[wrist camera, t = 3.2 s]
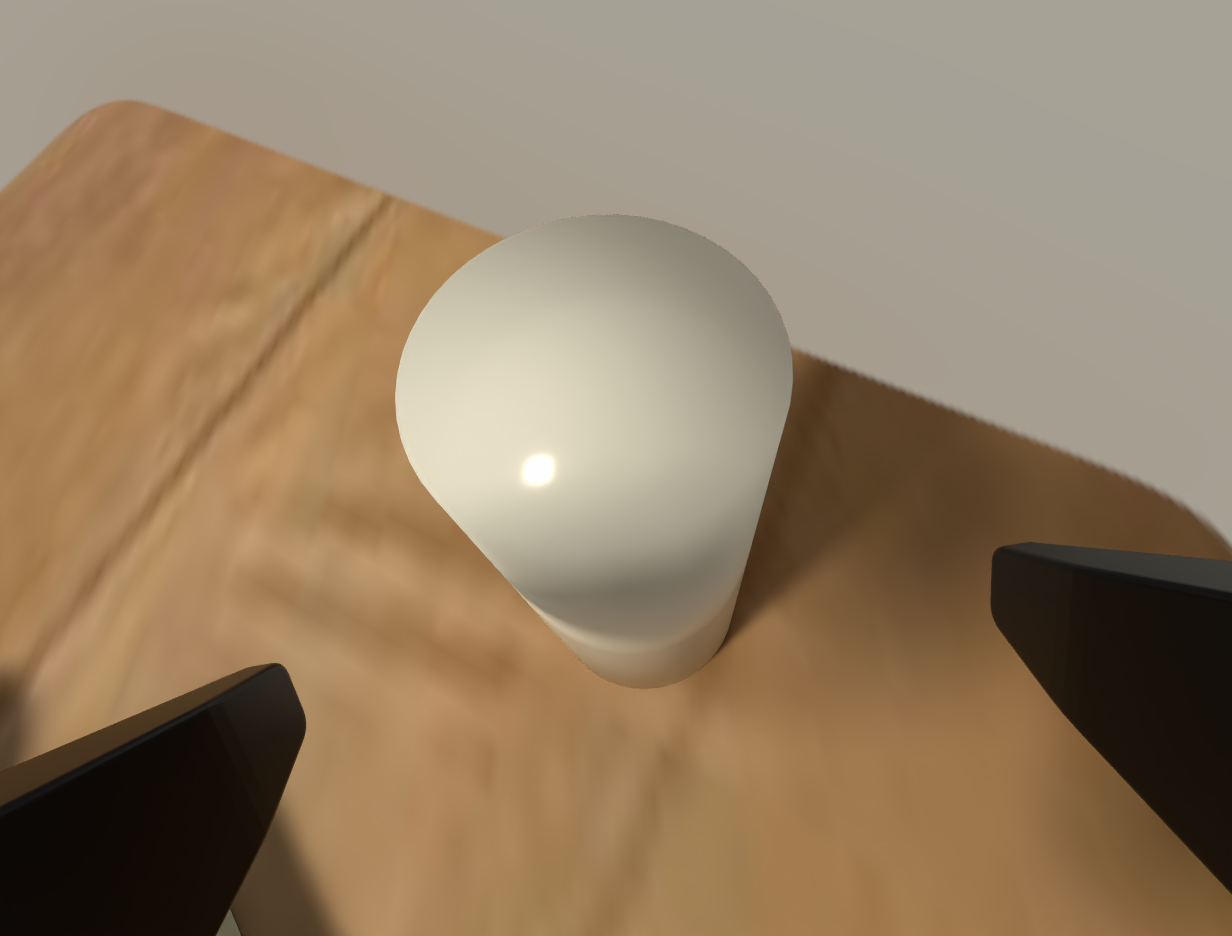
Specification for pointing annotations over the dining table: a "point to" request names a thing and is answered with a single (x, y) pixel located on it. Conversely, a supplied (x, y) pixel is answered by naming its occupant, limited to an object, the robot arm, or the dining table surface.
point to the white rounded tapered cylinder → (604, 430)
